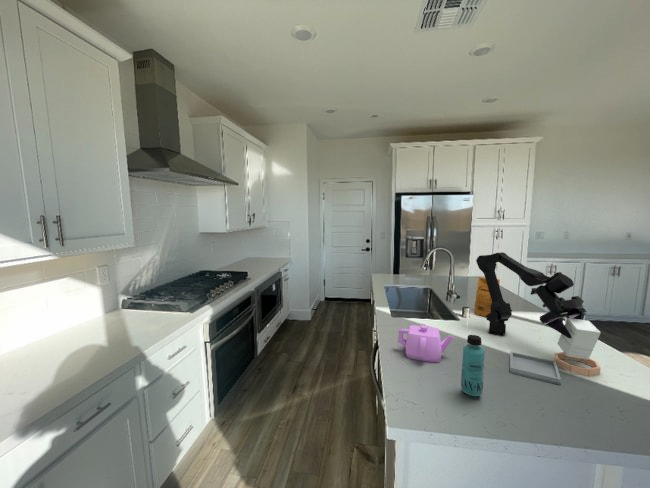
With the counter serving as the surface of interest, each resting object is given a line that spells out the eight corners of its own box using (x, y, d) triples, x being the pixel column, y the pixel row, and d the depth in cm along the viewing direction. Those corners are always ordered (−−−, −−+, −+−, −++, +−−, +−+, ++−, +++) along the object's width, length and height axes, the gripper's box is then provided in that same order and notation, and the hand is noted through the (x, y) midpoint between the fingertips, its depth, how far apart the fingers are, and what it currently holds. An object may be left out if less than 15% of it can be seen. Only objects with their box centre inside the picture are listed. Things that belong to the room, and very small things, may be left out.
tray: (510, 372, 106) (510, 367, 105) (510, 355, 118) (510, 351, 118) (560, 385, 98) (561, 379, 98) (555, 365, 110) (555, 360, 110)
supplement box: (577, 346, 112) (589, 320, 107) (589, 360, 105) (601, 332, 101) (556, 343, 114) (566, 317, 109) (566, 356, 107) (577, 329, 102)
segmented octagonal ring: (557, 369, 108) (557, 362, 107) (553, 355, 118) (553, 349, 118) (602, 379, 101) (603, 372, 100) (594, 363, 111) (594, 357, 111)
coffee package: (477, 310, 173) (479, 274, 170) (500, 315, 164) (502, 278, 161) (471, 314, 166) (473, 277, 163) (495, 320, 157) (497, 281, 155)
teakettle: (394, 350, 125) (395, 323, 123) (423, 341, 132) (424, 316, 131) (423, 368, 109) (424, 338, 108) (454, 358, 117) (455, 329, 115)
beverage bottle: (456, 389, 96) (458, 332, 94) (475, 387, 97) (477, 331, 95) (467, 401, 90) (470, 341, 88) (487, 400, 90) (490, 340, 88)
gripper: (550, 291, 107) (581, 331, 98) (583, 286, 113) (615, 323, 104) (528, 305, 115) (554, 342, 106) (559, 300, 121) (587, 335, 112)
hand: (578, 336), depth 107 cm, fingers closed on supplement box, 9 cm apart
